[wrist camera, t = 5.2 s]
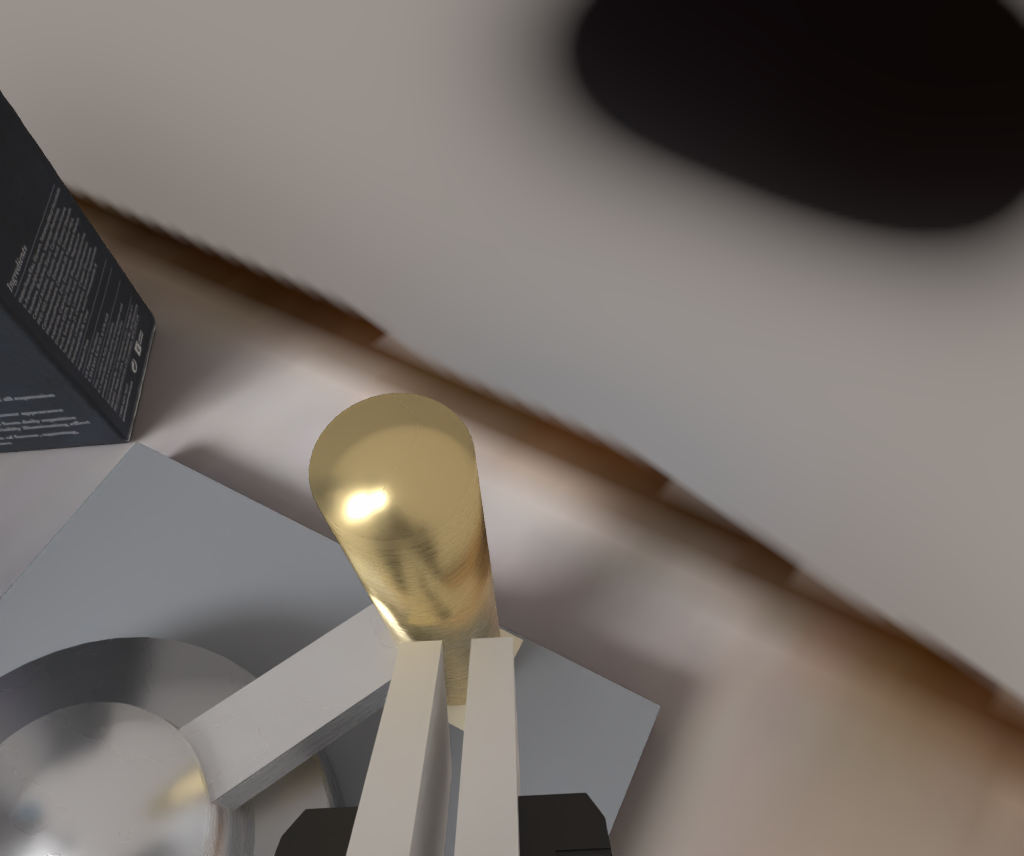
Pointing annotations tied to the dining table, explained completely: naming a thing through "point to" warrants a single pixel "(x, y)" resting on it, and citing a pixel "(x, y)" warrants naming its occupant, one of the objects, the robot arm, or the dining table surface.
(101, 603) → the stand
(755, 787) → the dining table surface
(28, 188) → the box
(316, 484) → the crank handle
